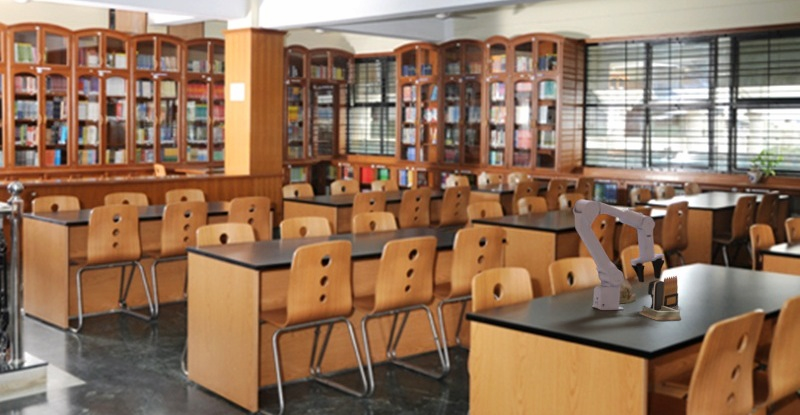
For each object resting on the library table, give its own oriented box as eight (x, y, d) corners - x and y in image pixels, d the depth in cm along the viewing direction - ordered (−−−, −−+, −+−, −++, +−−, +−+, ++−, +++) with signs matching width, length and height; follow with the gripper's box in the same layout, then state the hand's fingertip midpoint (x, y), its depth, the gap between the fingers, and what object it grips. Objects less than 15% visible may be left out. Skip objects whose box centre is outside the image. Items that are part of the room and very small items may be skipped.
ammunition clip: (664, 308, 357) (666, 278, 356) (660, 308, 358) (661, 277, 357) (677, 305, 364) (679, 275, 363) (673, 304, 366) (675, 275, 365)
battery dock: (656, 320, 333) (656, 311, 333) (639, 313, 344) (639, 305, 344) (680, 319, 335) (681, 311, 335) (663, 313, 347) (663, 305, 347)
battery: (654, 308, 357) (655, 279, 356) (663, 309, 354) (664, 280, 353) (646, 310, 351) (647, 281, 350) (655, 312, 349) (656, 282, 348)
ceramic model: (619, 304, 364) (620, 279, 364) (596, 300, 373) (597, 275, 372) (640, 301, 374) (641, 276, 373) (617, 297, 382) (618, 273, 381)
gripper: (637, 250, 350) (640, 285, 351) (668, 243, 355) (671, 277, 357) (626, 248, 356) (629, 282, 358) (656, 241, 362) (659, 275, 363)
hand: (649, 280), depth 358 cm, fingers open, 7 cm apart
